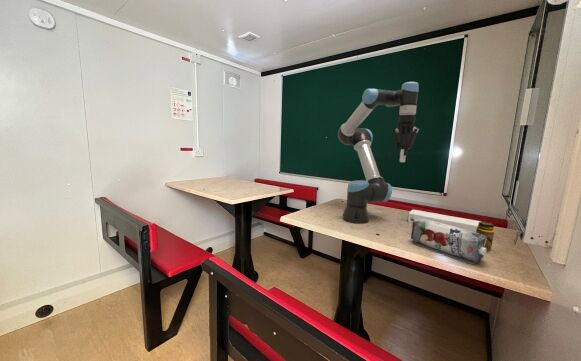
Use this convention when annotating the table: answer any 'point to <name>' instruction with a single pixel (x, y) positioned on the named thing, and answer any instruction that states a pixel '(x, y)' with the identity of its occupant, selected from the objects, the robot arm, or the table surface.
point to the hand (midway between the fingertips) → (402, 161)
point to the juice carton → (449, 239)
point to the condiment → (486, 230)
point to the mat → (446, 253)
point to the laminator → (444, 219)
